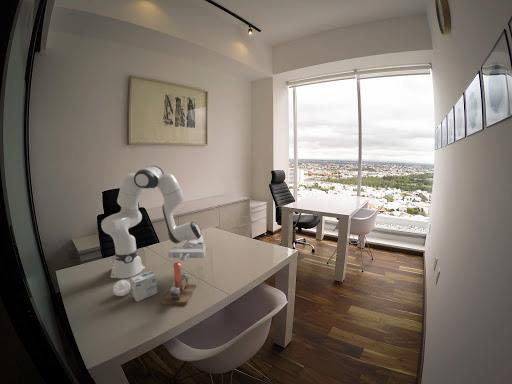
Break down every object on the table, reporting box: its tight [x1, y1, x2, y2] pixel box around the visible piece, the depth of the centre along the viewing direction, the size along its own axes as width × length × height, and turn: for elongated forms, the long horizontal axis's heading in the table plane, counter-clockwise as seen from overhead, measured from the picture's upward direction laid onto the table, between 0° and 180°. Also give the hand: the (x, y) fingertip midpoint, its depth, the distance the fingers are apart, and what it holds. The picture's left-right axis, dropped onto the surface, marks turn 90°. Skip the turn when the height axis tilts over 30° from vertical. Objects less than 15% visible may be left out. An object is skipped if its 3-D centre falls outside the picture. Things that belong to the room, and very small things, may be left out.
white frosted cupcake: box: [112, 279, 132, 297], centre depth 120 cm, size 8×8×8 cm
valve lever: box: [173, 262, 182, 288], centre depth 112 cm, size 3×13×13 cm, turn 17°
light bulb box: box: [130, 270, 158, 303], centre depth 119 cm, size 11×7×11 cm, turn 134°
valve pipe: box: [168, 272, 189, 300], centre depth 118 cm, size 14×5×7 cm, turn 178°
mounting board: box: [161, 283, 197, 306], centre depth 119 cm, size 16×12×2 cm
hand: (182, 258), depth 120 cm, fingers closed
